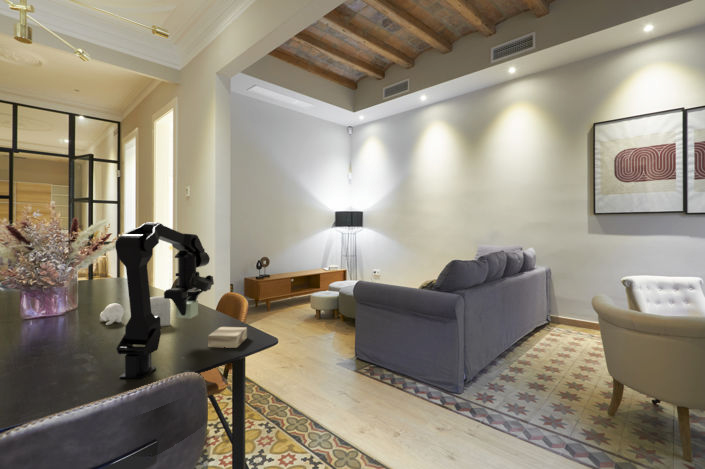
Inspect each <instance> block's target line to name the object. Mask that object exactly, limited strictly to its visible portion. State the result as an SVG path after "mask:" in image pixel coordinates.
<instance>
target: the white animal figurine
mask: <svg viewBox="0 0 705 469" xmlns="http://www.w3.org/2000/svg"><path fill="white" fill-rule="evenodd" d="M124 312H125V309H124V308H123V306H122V305H121V304H119V303H118V302H117V303H116V302H115V303H114V302H113V303H110V304H108V305H107V306H106V307H105V308H104V310H102V311H101V313H99V317H100V318H99V320H100V322H106V323H105V326H109V325H112V324H114V322H115V321H116V322H117V323H122V319H123V318H122V317H123V315H124V314H125V313H124Z"/></svg>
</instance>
